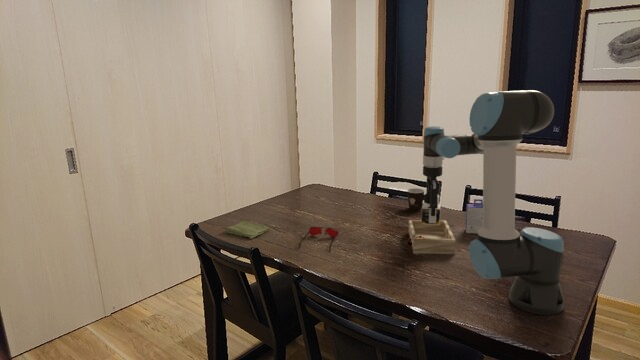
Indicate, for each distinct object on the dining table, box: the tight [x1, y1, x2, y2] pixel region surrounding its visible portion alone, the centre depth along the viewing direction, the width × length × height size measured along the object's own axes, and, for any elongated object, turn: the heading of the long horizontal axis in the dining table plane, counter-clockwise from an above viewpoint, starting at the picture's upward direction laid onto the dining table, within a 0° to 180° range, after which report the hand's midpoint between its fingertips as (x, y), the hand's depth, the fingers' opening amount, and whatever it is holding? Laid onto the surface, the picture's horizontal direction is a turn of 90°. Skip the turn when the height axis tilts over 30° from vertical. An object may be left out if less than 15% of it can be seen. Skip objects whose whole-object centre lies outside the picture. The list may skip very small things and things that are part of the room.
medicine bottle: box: [421, 193, 442, 225], centre depth 174 cm, size 7×7×12 cm
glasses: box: [297, 226, 340, 253], centre depth 181 cm, size 14×16×5 cm
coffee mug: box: [406, 187, 425, 212], centre depth 217 cm, size 12×9×10 cm
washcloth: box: [225, 220, 270, 240], centre depth 197 cm, size 13×18×3 cm
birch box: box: [408, 219, 456, 255], centre depth 177 cm, size 22×16×6 cm
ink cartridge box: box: [464, 198, 483, 234], centre depth 186 cm, size 10×6×14 cm, turn 78°
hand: (430, 219), depth 175 cm, fingers closed on medicine bottle, 8 cm apart
